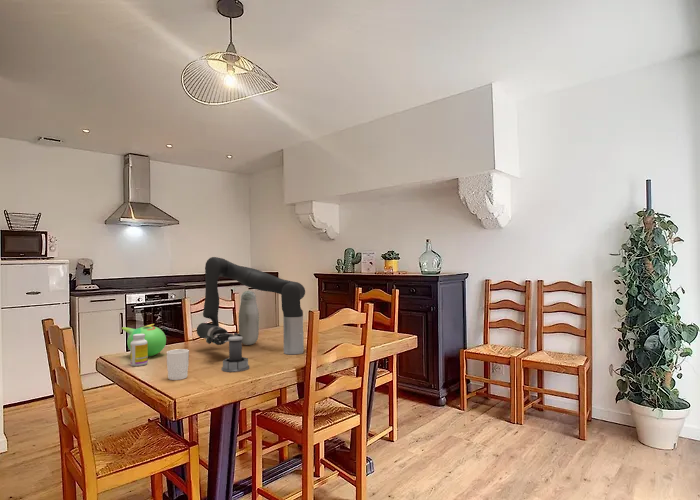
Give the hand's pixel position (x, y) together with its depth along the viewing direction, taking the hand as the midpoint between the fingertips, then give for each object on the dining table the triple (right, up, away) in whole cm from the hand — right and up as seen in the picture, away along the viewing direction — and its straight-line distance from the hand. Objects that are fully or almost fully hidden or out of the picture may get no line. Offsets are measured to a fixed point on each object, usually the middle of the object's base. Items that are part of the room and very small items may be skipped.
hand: (228, 340), depth 185 cm
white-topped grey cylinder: (+5, -9, -8) cm, 13 cm away
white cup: (-13, -10, -21) cm, 27 cm away
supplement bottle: (-38, -10, 0) cm, 39 cm away
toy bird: (-43, -11, +15) cm, 47 cm away
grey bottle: (-1, -11, +40) cm, 42 cm away
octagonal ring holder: (+5, -10, -9) cm, 14 cm away
